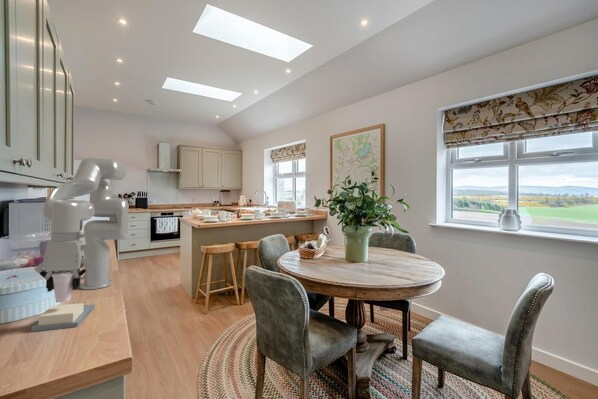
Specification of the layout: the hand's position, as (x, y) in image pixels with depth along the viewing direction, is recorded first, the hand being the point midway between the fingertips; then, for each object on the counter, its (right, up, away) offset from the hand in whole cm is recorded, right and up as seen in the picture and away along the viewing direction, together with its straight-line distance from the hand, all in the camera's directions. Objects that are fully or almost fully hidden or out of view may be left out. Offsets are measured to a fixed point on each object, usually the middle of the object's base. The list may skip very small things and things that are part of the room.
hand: (63, 289), depth 93 cm
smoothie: (0, -4, 0) cm, 4 cm away
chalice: (-30, -11, +49) cm, 58 cm away
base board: (-2, -11, +3) cm, 12 cm away
